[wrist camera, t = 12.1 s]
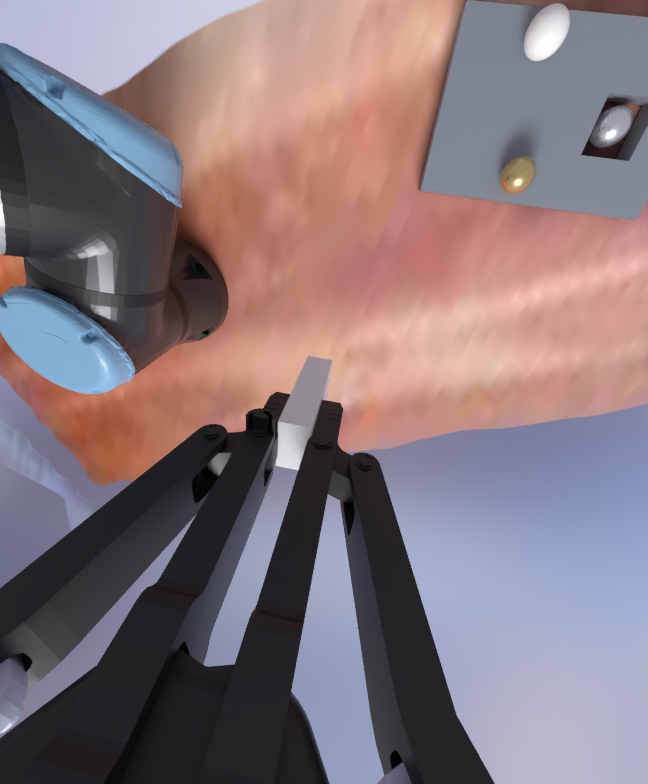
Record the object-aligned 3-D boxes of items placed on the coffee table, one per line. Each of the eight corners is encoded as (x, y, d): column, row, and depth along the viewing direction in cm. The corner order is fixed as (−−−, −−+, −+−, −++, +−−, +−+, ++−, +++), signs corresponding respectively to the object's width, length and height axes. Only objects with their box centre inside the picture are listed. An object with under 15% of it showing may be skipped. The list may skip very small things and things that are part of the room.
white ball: (511, 64, 29) (525, 51, 26) (528, 12, 27) (544, -8, 24) (547, 68, 28) (564, 55, 26) (566, 16, 27) (587, -4, 24)
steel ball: (590, 143, 30) (627, 147, 30) (611, 99, 28) (650, 102, 28) (576, 148, 33) (609, 151, 32) (594, 108, 31) (629, 111, 31)
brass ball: (490, 192, 34) (499, 191, 31) (503, 155, 32) (514, 151, 29) (520, 196, 33) (532, 196, 31) (535, 159, 32) (549, 156, 29)
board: (418, 190, 37) (420, 190, 35) (460, 13, 29) (466, -1, 27) (621, 218, 35) (636, 220, 33) (722, 39, 27) (750, 26, 25)
